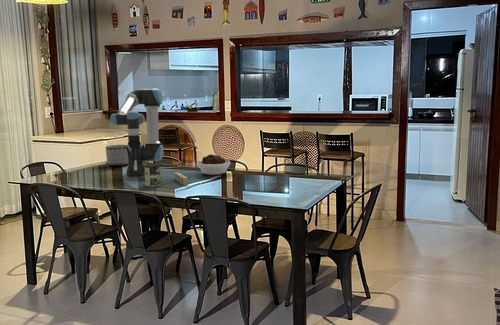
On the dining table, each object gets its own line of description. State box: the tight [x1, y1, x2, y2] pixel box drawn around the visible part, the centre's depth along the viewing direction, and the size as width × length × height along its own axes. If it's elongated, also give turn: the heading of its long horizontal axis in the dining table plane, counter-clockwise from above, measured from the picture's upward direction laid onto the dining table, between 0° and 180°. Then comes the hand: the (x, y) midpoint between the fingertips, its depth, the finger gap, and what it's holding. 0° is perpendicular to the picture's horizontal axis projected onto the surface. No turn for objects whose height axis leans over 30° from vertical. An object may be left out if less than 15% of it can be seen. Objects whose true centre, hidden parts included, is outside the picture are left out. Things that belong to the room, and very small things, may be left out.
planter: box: [105, 144, 128, 167], centre depth 409 cm, size 19×19×16 cm
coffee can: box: [144, 163, 161, 188], centre depth 329 cm, size 10×10×14 cm
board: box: [174, 171, 189, 186], centre depth 338 cm, size 22×3×5 cm, turn 25°
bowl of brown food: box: [196, 153, 231, 176], centre depth 365 cm, size 25×25×15 cm
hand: (135, 170), depth 324 cm, fingers closed
